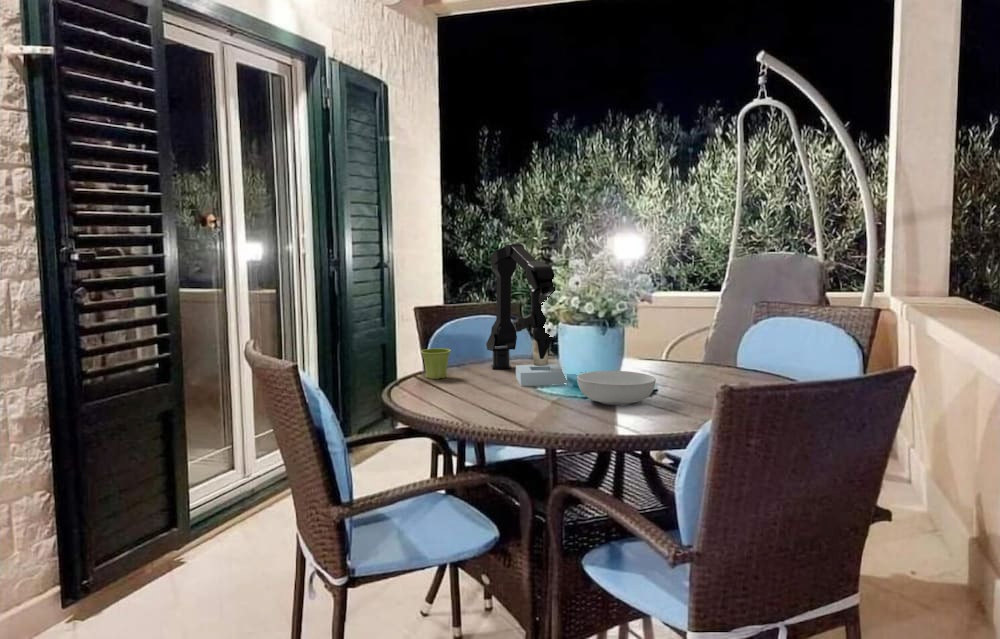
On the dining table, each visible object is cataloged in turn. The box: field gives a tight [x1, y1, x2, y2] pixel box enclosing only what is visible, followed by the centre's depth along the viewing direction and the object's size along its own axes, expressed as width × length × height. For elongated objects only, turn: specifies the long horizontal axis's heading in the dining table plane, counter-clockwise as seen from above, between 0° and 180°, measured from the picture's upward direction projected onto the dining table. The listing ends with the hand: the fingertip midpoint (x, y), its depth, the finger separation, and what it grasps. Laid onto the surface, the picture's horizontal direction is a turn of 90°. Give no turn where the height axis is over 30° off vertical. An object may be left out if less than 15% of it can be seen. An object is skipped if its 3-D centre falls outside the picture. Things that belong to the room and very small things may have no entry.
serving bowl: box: [576, 370, 657, 406], centre depth 214 cm, size 21×21×7 cm
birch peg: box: [532, 338, 549, 366], centre depth 244 cm, size 4×4×8 cm
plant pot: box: [420, 347, 452, 380], centre depth 253 cm, size 9×9×9 cm
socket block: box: [515, 363, 568, 387], centre depth 245 cm, size 14×14×4 cm
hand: (540, 357), depth 244 cm, fingers closed on birch peg, 4 cm apart
